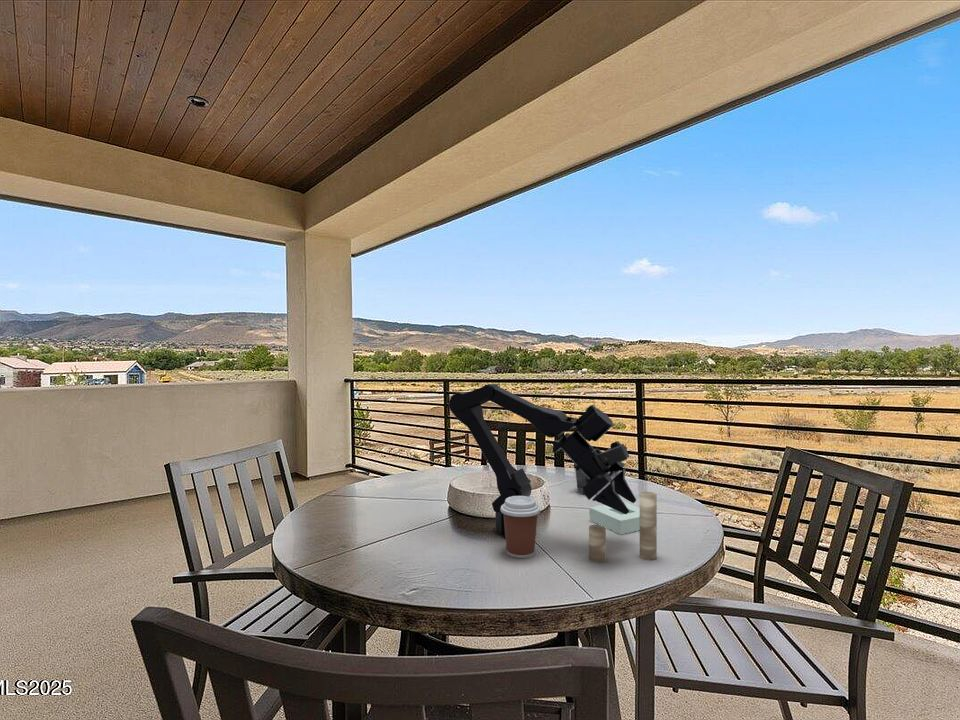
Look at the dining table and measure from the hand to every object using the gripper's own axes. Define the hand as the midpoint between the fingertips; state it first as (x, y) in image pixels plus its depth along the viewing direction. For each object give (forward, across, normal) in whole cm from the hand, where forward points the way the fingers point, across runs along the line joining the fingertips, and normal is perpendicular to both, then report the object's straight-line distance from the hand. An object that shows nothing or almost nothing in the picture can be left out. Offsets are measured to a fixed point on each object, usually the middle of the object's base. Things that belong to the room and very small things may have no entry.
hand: (631, 507), depth 112 cm
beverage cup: (-8, +44, +23) cm, 50 cm away
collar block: (+3, +19, +12) cm, 23 cm away
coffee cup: (-9, -10, +24) cm, 27 cm away
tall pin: (+10, 0, +5) cm, 11 cm away
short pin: (+3, -6, +12) cm, 14 cm away
